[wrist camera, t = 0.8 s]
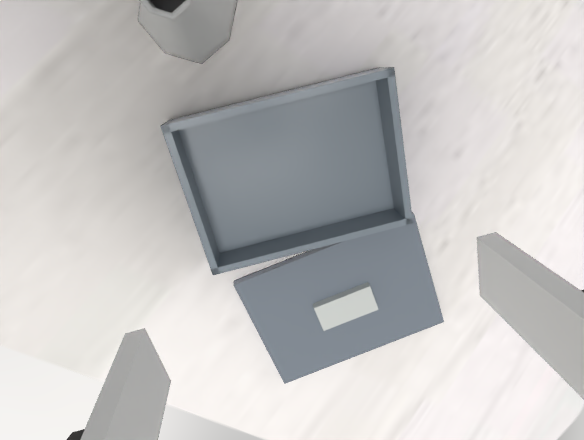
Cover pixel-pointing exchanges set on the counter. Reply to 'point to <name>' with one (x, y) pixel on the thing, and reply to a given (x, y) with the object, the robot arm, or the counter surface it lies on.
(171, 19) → the flask
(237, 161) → the bin
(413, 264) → the bin lid
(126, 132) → the counter surface
